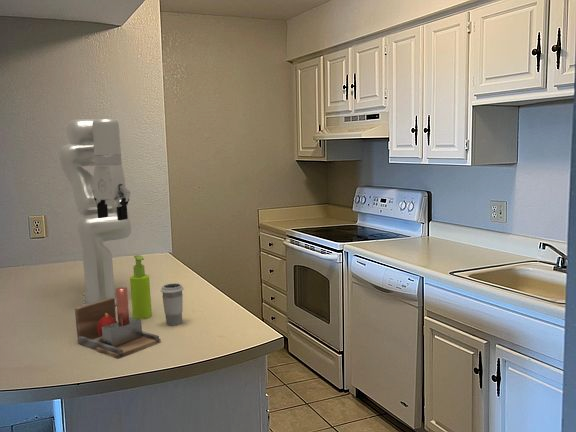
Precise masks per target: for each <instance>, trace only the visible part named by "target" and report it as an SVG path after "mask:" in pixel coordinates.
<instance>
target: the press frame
mask: <svg viewBox="0 0 576 432" xmlns="http://www.w3.org/2000/svg"><path fill="white" fill-rule="evenodd" d="M116 312H117V311H116V305H115V299H114V298H109V299H105V300H102V301H98V302H95V303H91V304H88V305H85V306H82V305H81V306H78V307H74V315H75V323H76V324H75V325H76V335H77V336H76V337H77V343H78V344H79V345H81V346H84V347H87V348H90V349H92V350H95V351H96V352H98V353H101V354H103V355H106V356H109V357H112V358H115V359H121V358H124V357H127V356H128V355H132V354H135V353H137V352H139V351H143V350H145V349H147V348H149V347H152V346H155V345H158V344H160V343H161V342H162V341H161V338H160V336H159V335H156V334H155V333H150V332H147V331H143V330H142V337H140V338H137V339H135V340H132V341H129V342H126V343H124V344H121V345H118V346H116V347H113V346H110V345H107V344H104V343H103V342H101V341H99V340H95V339H98V338H100V337H101V336H100V335H99V334H98V332H97V325H98V322H99V321H100V319H101V318H103V317H104V314H105V313H107V314H109V315H110V316H111V317H113V318H114V319H115V320H116V321H117V313H116ZM101 338H102V337H101ZM157 343H158V344H157Z"/></svg>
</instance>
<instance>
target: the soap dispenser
mask: <svg viewBox="0 0 576 432" xmlns="http://www.w3.org/2000/svg"><path fill="white" fill-rule="evenodd" d="M133 257H134V258H135V265H134V266H132V269H133V275H131V276H130V277H129V280H130V281H129V282H130V294H131V309H132V317H134V318H137V319H141V320H143V319H144V320H145V319H149V318H151V317H152V314H153V313H152V301H151V300H152V299H151V298H152V297H151V286H150V276H149V274H146V271H145V265H144V264H142V261H144V259H145V258H144V256H143V255H141V254H137V255H133Z"/></svg>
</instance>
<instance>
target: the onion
mask: <svg viewBox="0 0 576 432" xmlns="http://www.w3.org/2000/svg"><path fill="white" fill-rule="evenodd" d="M116 322H118V320H117V319H116V320H115V319H114V318H113V317H111V316H110V315H109V314H107V313H105V314H104V317H103V318H101V319H100V321H99V322H98V325H97V332H98V334H99V335H100V336H101V338H103V336H102V327H104V326H107V325H110V324H113V323H116Z"/></svg>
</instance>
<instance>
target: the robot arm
mask: <svg viewBox="0 0 576 432" xmlns="http://www.w3.org/2000/svg"><path fill="white" fill-rule="evenodd" d="M66 135H67V139H68V141H69V143H67V144H65V145H62V146H61V148H60V149H59V153H58V155H59V157H58V158H59V162H60V167H61V170H62V171H63V173H64V175H65V177H66V178H67V180H68V181H69V184H70V185H71V188H72V189H71V190H72V192H73V196H74V202H75V205H76V208H77V211H78V213H79V214H80V215H81V218H79V219H78V221H77V224H76V228H77V232H78V236H79V242H80V247H81V254H82V262H83V274H84V285H85V286H84V287H85V291H83V292H82V296H83V297H85V300H84V301H83V302H82V303H81V306H85V305H88V304H91V303H95V302H98V301H102V300H105V299H109V298H114V299H115V306H117V302H116V288H115V278H114V267H113V266H114V265H113V256H112V255H113V254H112V251H111V250H110V249H109V248H108V247H107V246H106V245H105V244H104V242H107V241H117V240H123V239H127V238H128V237H130V236H131V233H132V223H131V219H130V217H129V213H128V206H129V201H130V196H131V191H130V190H129V189H127V187H126V180H125V174H124V173H125V172H124V169H123V164H122V163H123V162H122V161H123V160H122V149H121V148H122V147H121V137H120V135H121V134H120V125H119V121H118V120H117V119H115V118H85V119H82V118H81V119H80V118H79V119H78V118H77V119H72V120H69V121H68V123H67V127H66ZM83 167H94V169H93V174H91V173H90V172H89V171H88V170H87V169H85V168H83Z"/></svg>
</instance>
